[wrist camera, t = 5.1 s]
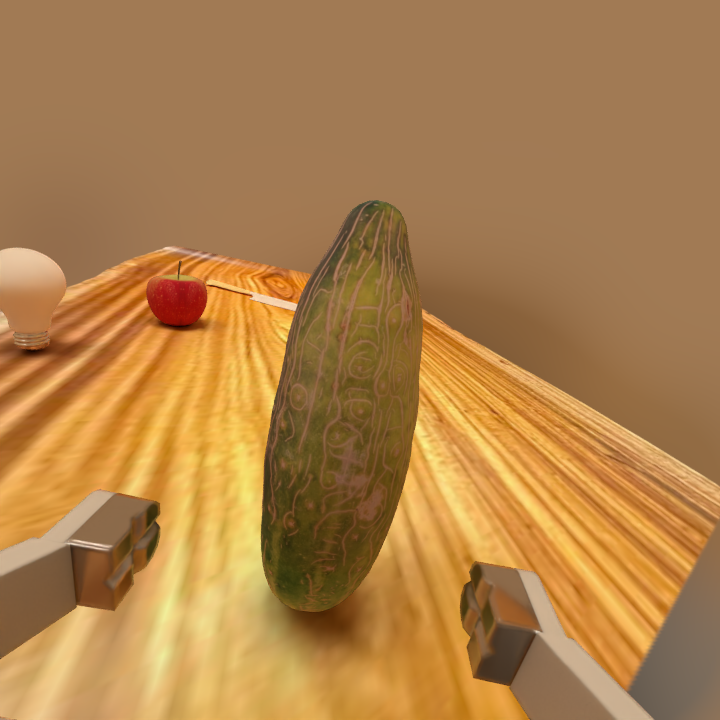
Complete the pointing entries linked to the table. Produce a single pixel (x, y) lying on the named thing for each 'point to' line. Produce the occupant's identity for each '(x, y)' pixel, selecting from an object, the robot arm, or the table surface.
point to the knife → (256, 296)
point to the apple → (177, 298)
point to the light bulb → (29, 295)
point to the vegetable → (343, 414)
